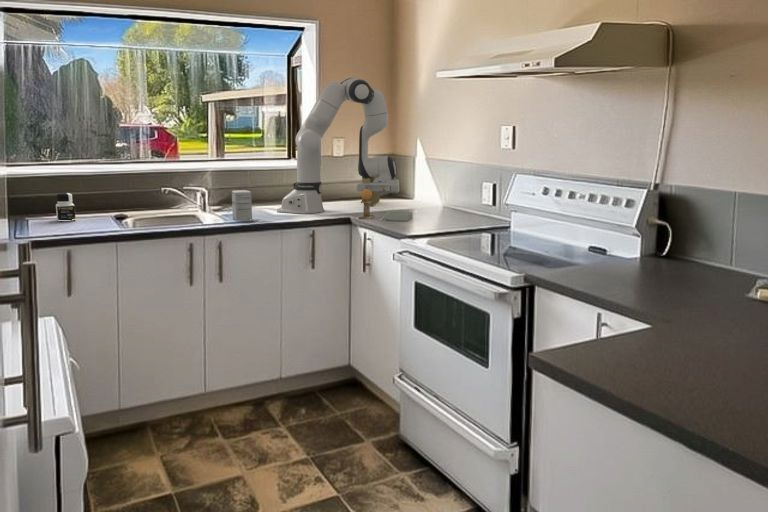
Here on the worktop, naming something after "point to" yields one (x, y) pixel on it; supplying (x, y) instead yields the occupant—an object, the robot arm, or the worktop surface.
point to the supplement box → (241, 205)
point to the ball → (366, 194)
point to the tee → (366, 210)
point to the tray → (398, 216)
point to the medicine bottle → (65, 207)
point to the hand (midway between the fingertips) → (374, 189)
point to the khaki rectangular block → (374, 197)
